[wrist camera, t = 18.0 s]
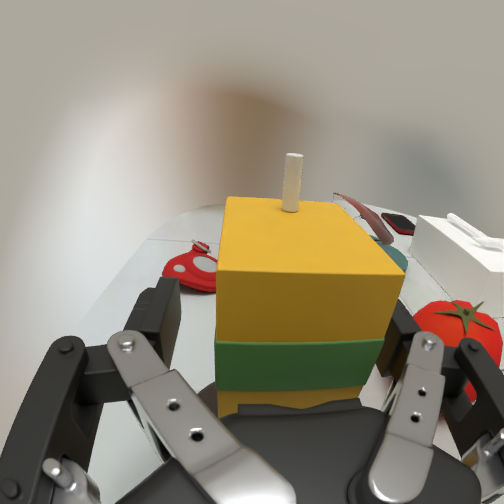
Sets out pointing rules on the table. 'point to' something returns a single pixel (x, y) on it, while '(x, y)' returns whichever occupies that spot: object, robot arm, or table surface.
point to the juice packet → (297, 301)
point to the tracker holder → (194, 268)
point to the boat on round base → (379, 232)
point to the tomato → (461, 328)
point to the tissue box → (462, 261)
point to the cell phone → (399, 223)
